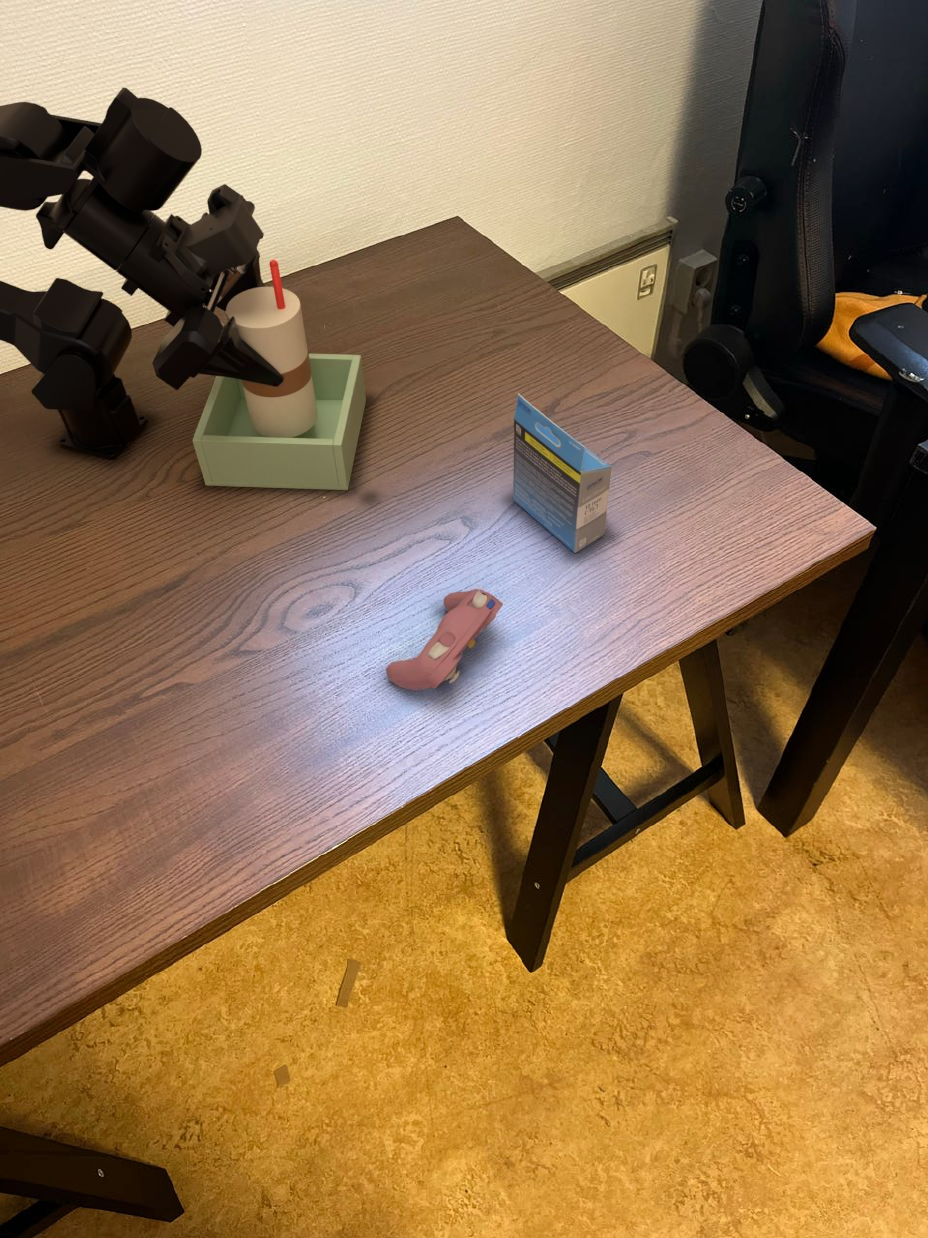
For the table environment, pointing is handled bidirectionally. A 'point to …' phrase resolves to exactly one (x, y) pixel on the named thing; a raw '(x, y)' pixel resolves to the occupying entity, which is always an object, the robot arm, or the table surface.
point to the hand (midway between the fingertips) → (287, 359)
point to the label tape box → (558, 479)
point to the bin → (285, 462)
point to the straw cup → (276, 358)
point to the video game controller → (447, 641)
